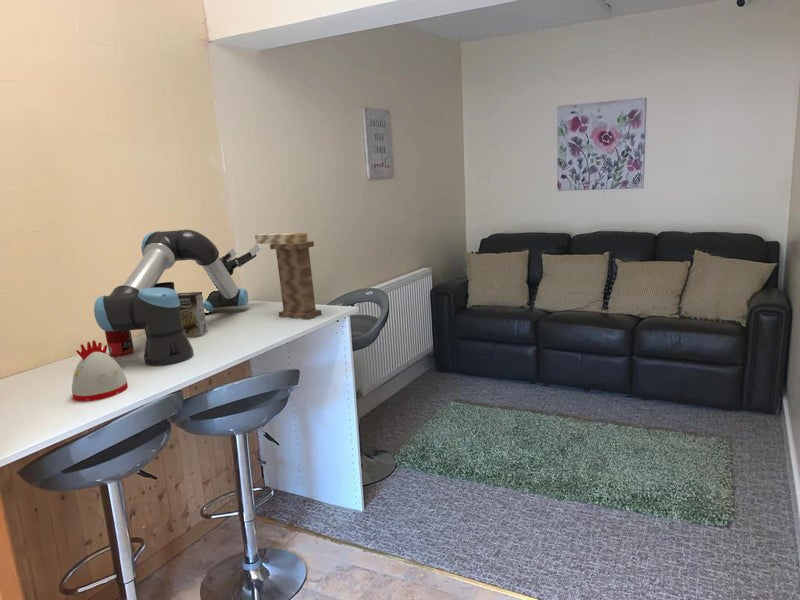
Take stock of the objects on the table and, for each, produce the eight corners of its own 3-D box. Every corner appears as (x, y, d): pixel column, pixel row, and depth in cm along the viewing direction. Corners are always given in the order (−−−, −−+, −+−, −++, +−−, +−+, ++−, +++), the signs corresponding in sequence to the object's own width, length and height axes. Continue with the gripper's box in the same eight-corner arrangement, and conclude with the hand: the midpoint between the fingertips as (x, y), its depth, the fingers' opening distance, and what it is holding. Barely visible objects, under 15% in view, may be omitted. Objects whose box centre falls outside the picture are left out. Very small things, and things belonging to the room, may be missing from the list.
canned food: (128, 356, 199) (122, 325, 197) (105, 357, 199) (99, 326, 197) (138, 349, 207) (132, 319, 204) (116, 351, 207) (110, 321, 205)
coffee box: (178, 338, 218) (171, 296, 215) (185, 333, 225) (178, 292, 221) (201, 336, 218) (195, 294, 214) (208, 332, 224) (202, 290, 221)
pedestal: (279, 317, 240) (269, 244, 233) (292, 312, 246) (283, 241, 240) (308, 319, 231) (299, 244, 225) (321, 314, 238) (313, 241, 231)
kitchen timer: (64, 396, 163) (53, 345, 160) (111, 380, 174) (101, 332, 171) (89, 404, 155) (78, 350, 152) (137, 387, 166) (128, 336, 163)
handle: (253, 244, 239) (252, 235, 239) (264, 242, 244) (263, 233, 244) (297, 243, 227) (296, 234, 226) (307, 241, 232) (307, 232, 231)
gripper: (194, 269, 248) (220, 244, 236) (239, 260, 269) (264, 236, 257) (202, 284, 248) (229, 260, 236) (246, 274, 268) (272, 251, 256)
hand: (247, 248), depth 246 cm, fingers open, 13 cm apart
